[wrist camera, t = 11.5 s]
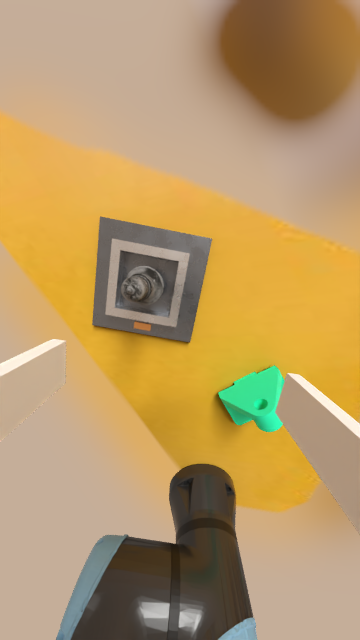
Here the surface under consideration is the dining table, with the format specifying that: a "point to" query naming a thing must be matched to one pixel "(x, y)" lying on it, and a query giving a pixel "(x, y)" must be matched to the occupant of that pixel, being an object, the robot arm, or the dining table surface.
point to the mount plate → (168, 260)
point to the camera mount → (255, 399)
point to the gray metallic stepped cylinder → (143, 285)
